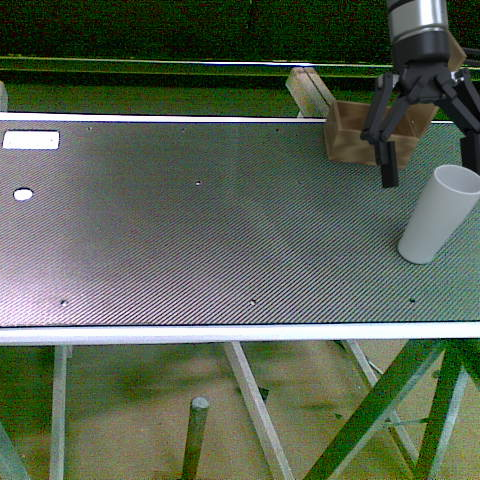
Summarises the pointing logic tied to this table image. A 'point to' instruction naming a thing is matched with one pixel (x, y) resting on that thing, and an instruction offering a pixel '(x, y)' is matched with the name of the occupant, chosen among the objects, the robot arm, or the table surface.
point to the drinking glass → (439, 212)
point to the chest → (349, 129)
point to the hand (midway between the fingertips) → (432, 184)
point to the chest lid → (426, 112)
